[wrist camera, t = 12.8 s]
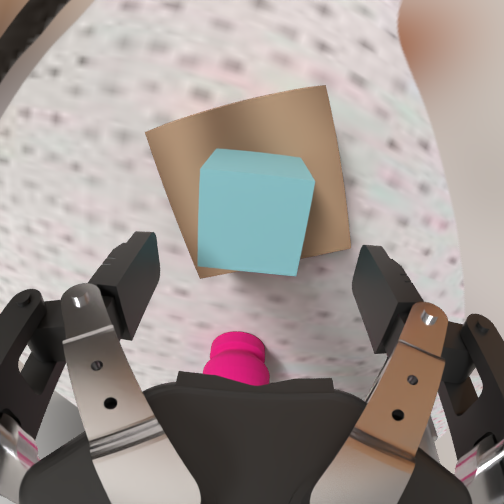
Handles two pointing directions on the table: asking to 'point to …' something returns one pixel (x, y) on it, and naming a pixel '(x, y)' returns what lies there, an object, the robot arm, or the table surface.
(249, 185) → the teal cube
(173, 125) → the walnut box
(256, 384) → the pepper mill
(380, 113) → the table surface
